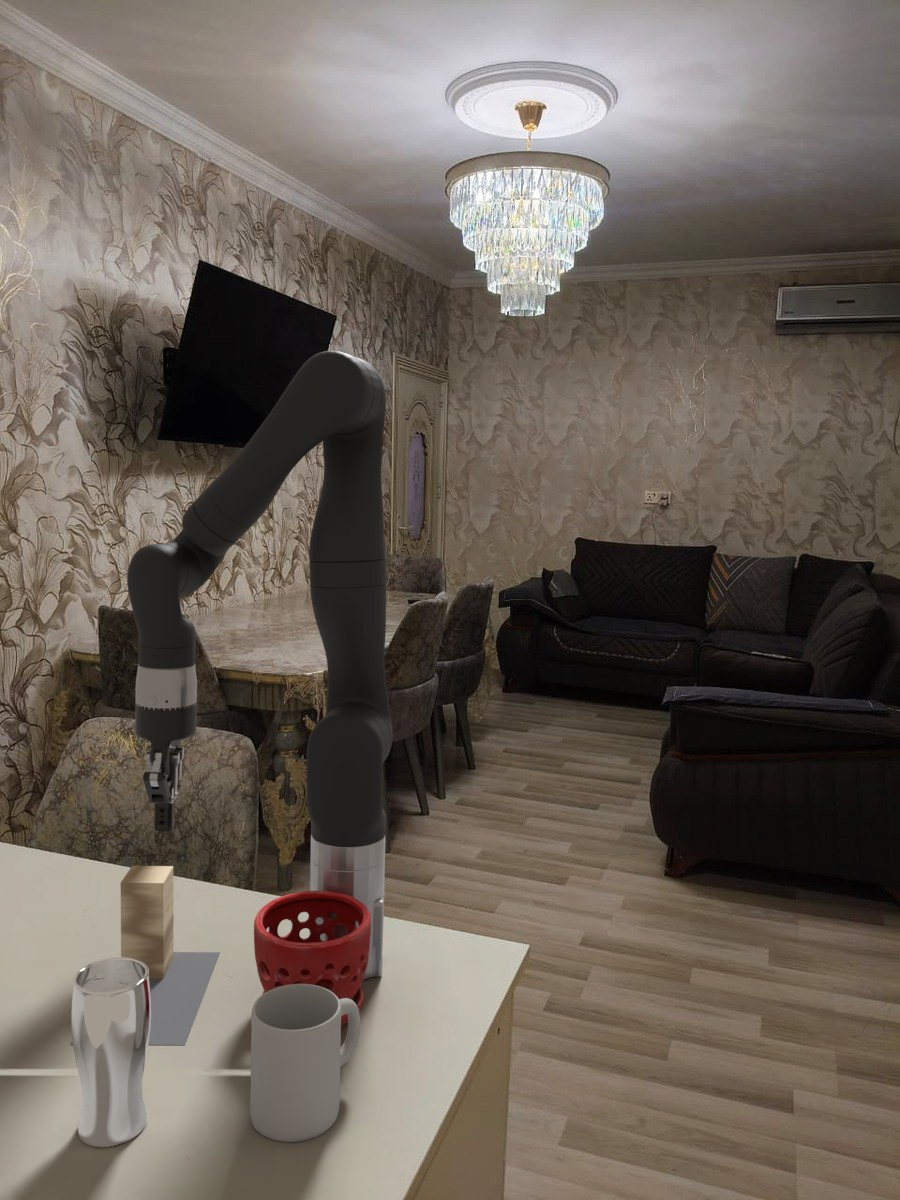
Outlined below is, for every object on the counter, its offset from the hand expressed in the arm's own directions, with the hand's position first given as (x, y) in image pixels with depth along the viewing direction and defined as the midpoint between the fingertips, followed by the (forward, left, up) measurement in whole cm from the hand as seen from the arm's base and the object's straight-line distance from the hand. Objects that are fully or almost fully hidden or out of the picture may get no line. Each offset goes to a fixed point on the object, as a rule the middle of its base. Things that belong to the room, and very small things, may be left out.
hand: (164, 829), depth 124 cm
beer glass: (-4, +37, -15) cm, 40 cm away
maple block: (0, +9, -14) cm, 17 cm away
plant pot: (-21, +18, -15) cm, 31 cm away
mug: (-22, +34, -15) cm, 43 cm away
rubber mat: (-2, +15, -15) cm, 21 cm away
